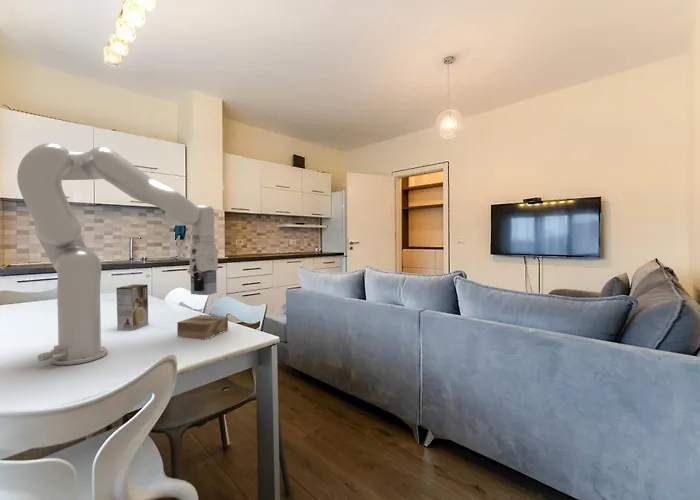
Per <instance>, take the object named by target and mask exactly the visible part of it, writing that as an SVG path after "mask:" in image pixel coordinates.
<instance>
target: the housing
mask: <svg viewBox="0 0 700 500" xmlns="http://www.w3.org/2000/svg"><path fill="white" fill-rule="evenodd" d="M197 275H199V273H197ZM201 280H203V291H194V280H193V278H192V277H191V276H190V295H196V296H197V295H201V296H202V295H203V296H209V295H214V294H217V288H218V287H217V286H218V285H217V271H207V272H202V278H201Z"/></svg>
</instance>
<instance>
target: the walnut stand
mask: <svg viewBox="0 0 700 500" xmlns="http://www.w3.org/2000/svg"><path fill="white" fill-rule="evenodd" d="M176 324H177V325H176V326H177V330H176V331H177V334H176V335H177V337H179V336H181V337H182V338H188V337H195V338H194V339H198V338H206V339H205V340H208V339H207V338H209V337H211V336H213V335H216V334H218V333H220V332H223V331H225V330H227V331H229V316H221V315H208V314H207V315H206V314H199V315H195V316H193V317H190V318H187V319H184V320H181V321H178V322H177V323H176ZM225 332H226V331H225ZM223 333H224V332H223ZM220 334H221V333H220ZM218 335H219V334H218ZM216 336H217V335H216ZM181 337H180V338H181ZM213 337H214V336H213ZM211 338H212V337H211ZM209 339H210V338H209Z"/></svg>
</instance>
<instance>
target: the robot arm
mask: <svg viewBox="0 0 700 500" xmlns="http://www.w3.org/2000/svg"><path fill="white" fill-rule="evenodd" d="M16 176H17V179H16V181H17V185H18V189H19V192H20V194H21V197H22V199H23V201H24V203H25V205H26V207H27V209H28V212H29V214H30V216H31V217H32V220H33V221H34V224H35V225H34V232H35V234H36V237H37V239H38V242H39V243H40V245H41V247H42V248H43V250H44V252H45V254H46V256H47V257H48V259H49V261H50V262H49V263H51V265H52V267H53V268H54V270H55V271H56V273H57V287H56V289H57V292H56V295H57V296H56V297H57V299H56V301H57V336H58V337H57V339H58V341H57V342H58V343H57V345H54V346H53V349H52V350H50V351H48V352H44V353H40V354H38V355H37V361H38V362H40V363H41V362H44V361H48V360H51V361H50V362H51V364H53V365H56V366H57V365H58V366H69V365H78V364H83V363H88V362H92V361H96V360H98V359H101V358H103V357H104V356H106V355H107V354H108V349H107V347H105V346H102V339H101V338H102V336H101V335H102V330H101V329H102V328H101V321H102V320H101V277H102V262H101V259H100V258H99V256H98V255H97V254H96V253H95V252H94V251H92V250H90V249H88V247H87V245H86V242H85V241H84V239H83V237H82V226H81V224H80V221H79V219H78V218H77V216H76V215H75V213H74V211H73V209H72V207H71V205H70V202H69V201H68V199H67V198H68V197H66V196H67V195H66V194H65V191H64V189H63V184H62V181H81V180H82V181H86V180H87V181H88V180H89V181H90V180H102V179H103V180H104V181H106V182H108V183H109V184H111V185H113V186H114V187H115V188H117V189H118V190H120V191H121V192H123V193H124V194H125V195H127V196H129V197H131V198H132V199H134V200H136V201H140V202H142V203H146V204H149V205H152V206H154V207H157V208H159V209H160V210H162V211H164V212H165V213H164V216H165V219H166V221H167V222H168V223H169V224H171V225H173V226H177V227H179V226H181V227H182V226H191V246H190V251H189V268H188V270H187V273H188V274H189V276H190V278H191V277H192V278H193V280H194V291H203V280H201V278H202V272H207V271H216V272H217V271H218V269H219V261H218V259H219V258H218V251H217V250H218V248H217V245H216V243H215V209H214V207H212V206H210V205H196V204H194V203H193V202H192V201H191V200H189V199H188V198H187V197H186V196H184V195H182V194H181V193H180V192H178V191H177V190H175V189H173V188H171V187H169V185H166V184H164V183H163V182H160V181H158V180H156V179H154V178H153V177H151V176H149V174H146V173H145V172H144V171H142V170H141V169H140V168H138V167H137V166H135V165H134V164H132V163H131V162H129V161H128V160H127V159H126V158H124V157H123V156H122V155H120V154H119V153H117V152H116V151H115V150H113V149H111V148H108V147H105V146H96V147H94V148H92V149H90V150H89V151H69V150H68V149H67V148H66V147H64V146H63V145H60V144H58V143H53V142H45V143H42V144H39V145H36V146H35V147H34V148H32V149H31V150H29V151H28V152H27V153H26V154H25V155H24V156H23V158H22V159H21V161H20V162H19V165H18V169H17V174H16ZM197 273H199V275H197Z"/></svg>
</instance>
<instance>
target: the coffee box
mask: <svg viewBox="0 0 700 500" xmlns="http://www.w3.org/2000/svg"><path fill="white" fill-rule="evenodd" d="M148 287H149V286H148V284H129V285H124V286H120V287H116V318H117V321H116V324H117V325H116V327H117V331H135V330H137V329H140V328H142V327H144V326H146V325H149V297H148V295H149V294H148V293H149V292H148V291H149V288H148Z"/></svg>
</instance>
